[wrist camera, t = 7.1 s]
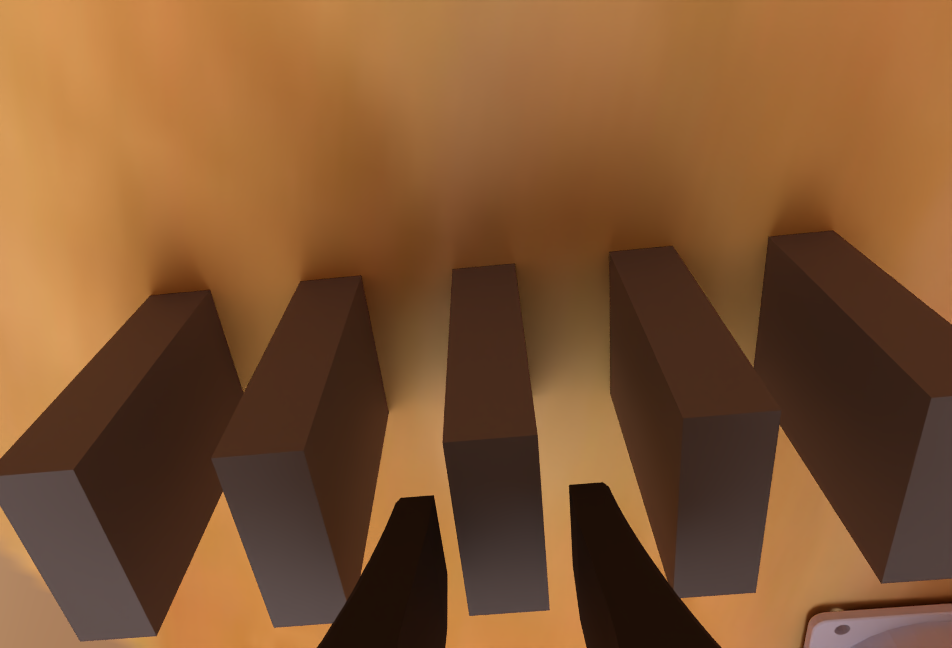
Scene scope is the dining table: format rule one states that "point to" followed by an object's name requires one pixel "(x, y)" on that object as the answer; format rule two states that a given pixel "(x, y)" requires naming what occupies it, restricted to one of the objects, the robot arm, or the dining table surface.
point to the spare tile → (493, 446)
